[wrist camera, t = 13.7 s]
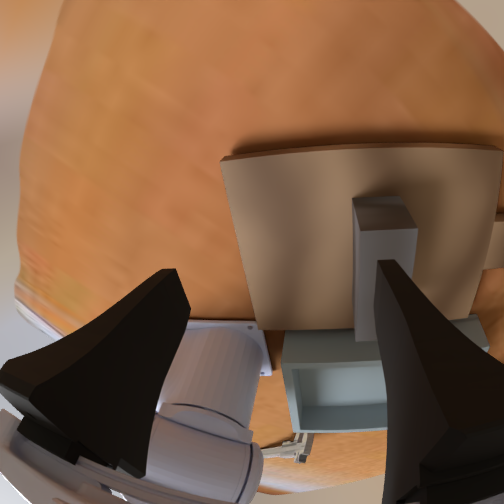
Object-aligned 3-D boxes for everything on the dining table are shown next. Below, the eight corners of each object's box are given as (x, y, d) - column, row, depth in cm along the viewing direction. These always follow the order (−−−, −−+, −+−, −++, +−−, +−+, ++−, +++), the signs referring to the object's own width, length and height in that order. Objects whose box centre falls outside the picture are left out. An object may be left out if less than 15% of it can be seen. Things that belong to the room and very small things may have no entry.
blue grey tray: (299, 423, 37) (295, 457, 33) (285, 326, 27) (278, 375, 22) (452, 411, 32) (457, 443, 27) (508, 309, 21) (527, 349, 17)
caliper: (308, 417, 36) (303, 459, 31) (315, 419, 36) (311, 461, 31) (247, 452, 48) (240, 481, 43) (252, 453, 48) (246, 483, 43)
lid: (262, 313, 27) (249, 368, 22) (227, 152, 19) (197, 186, 15) (495, 297, 21) (518, 346, 16) (528, 146, 14) (577, 178, 9)
